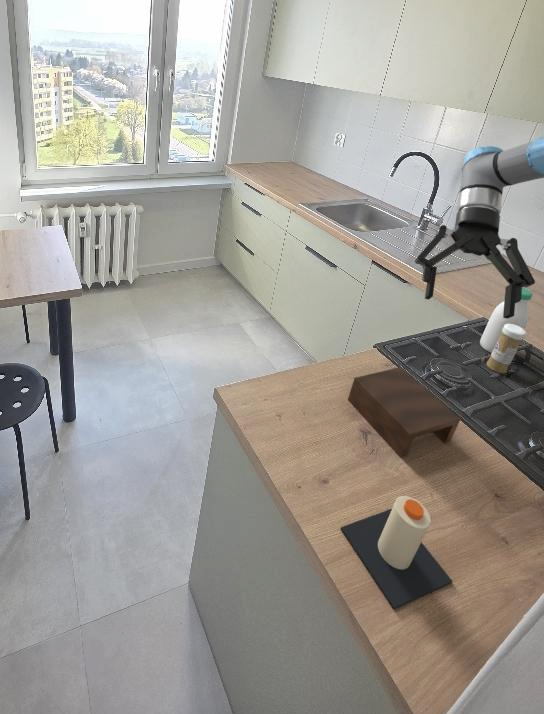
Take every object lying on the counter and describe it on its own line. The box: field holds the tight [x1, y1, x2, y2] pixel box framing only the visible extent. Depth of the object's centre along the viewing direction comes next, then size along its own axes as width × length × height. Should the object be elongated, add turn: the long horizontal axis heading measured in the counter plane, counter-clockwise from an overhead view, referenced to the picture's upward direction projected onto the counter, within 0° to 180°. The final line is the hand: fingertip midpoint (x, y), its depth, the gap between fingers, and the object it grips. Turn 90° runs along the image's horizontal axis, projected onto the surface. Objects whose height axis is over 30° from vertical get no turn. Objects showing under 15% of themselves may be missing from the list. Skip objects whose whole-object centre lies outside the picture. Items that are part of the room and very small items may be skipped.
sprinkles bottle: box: [486, 324, 527, 374], centre depth 111 cm, size 5×5×14 cm
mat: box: [340, 508, 453, 610], centre depth 71 cm, size 12×12×1 cm
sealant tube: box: [378, 495, 432, 569], centre depth 68 cm, size 5×5×12 cm
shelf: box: [347, 366, 461, 458], centre depth 95 cm, size 16×14×7 cm
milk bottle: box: [479, 287, 533, 354], centre depth 117 cm, size 8×8×20 cm
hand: (467, 307), depth 84 cm, fingers open, 13 cm apart
